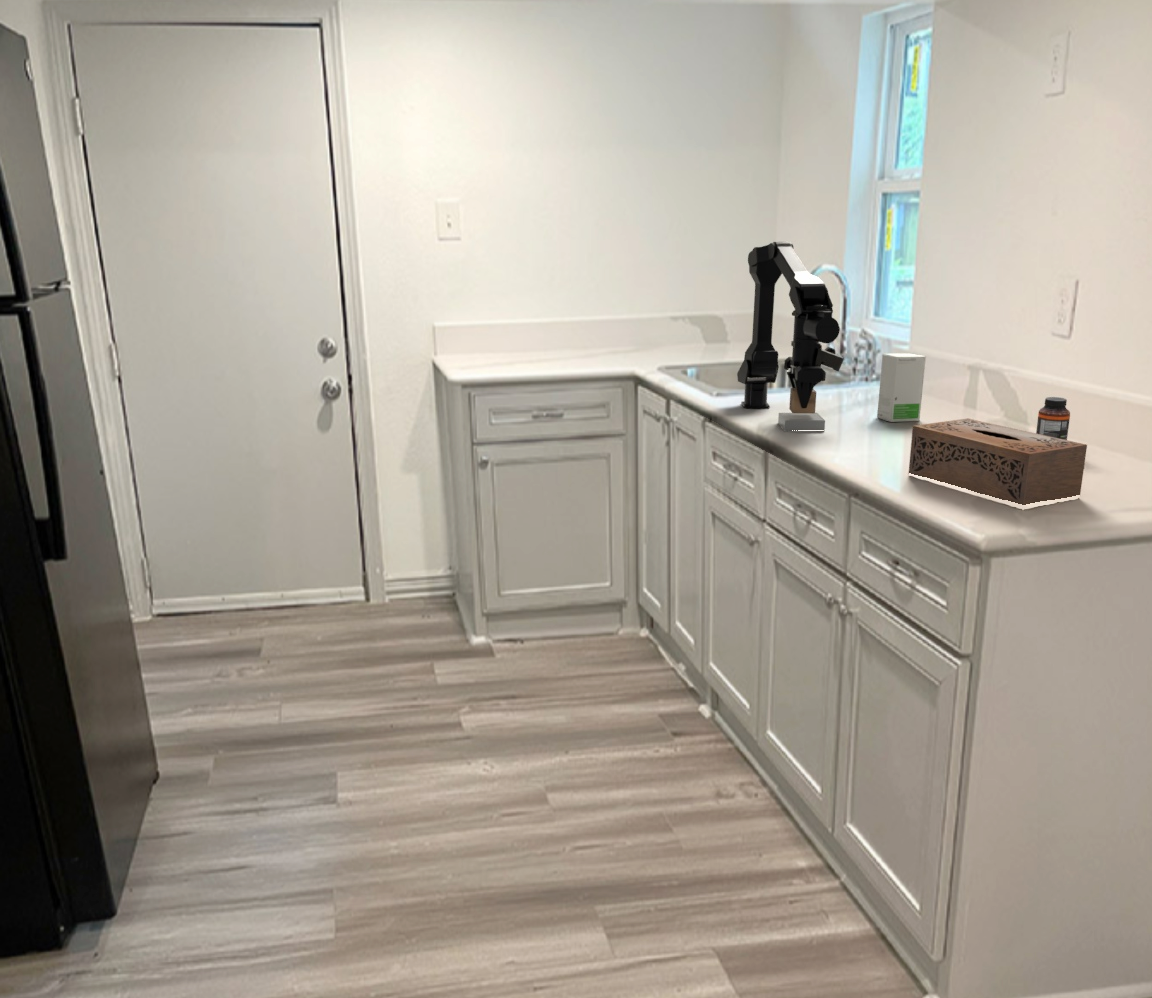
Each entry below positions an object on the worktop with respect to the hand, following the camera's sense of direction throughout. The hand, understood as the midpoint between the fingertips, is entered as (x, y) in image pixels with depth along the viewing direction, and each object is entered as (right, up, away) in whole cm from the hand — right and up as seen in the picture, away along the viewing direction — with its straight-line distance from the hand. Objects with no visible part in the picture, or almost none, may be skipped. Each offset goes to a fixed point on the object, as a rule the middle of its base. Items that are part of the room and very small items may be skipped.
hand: (802, 406), depth 234 cm
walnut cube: (0, -1, 0) cm, 1 cm away
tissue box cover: (+23, -20, -49) cm, 58 cm away
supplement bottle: (+46, -12, -23) cm, 53 cm away
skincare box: (+25, -2, +10) cm, 27 cm away
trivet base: (0, -5, +1) cm, 5 cm away
